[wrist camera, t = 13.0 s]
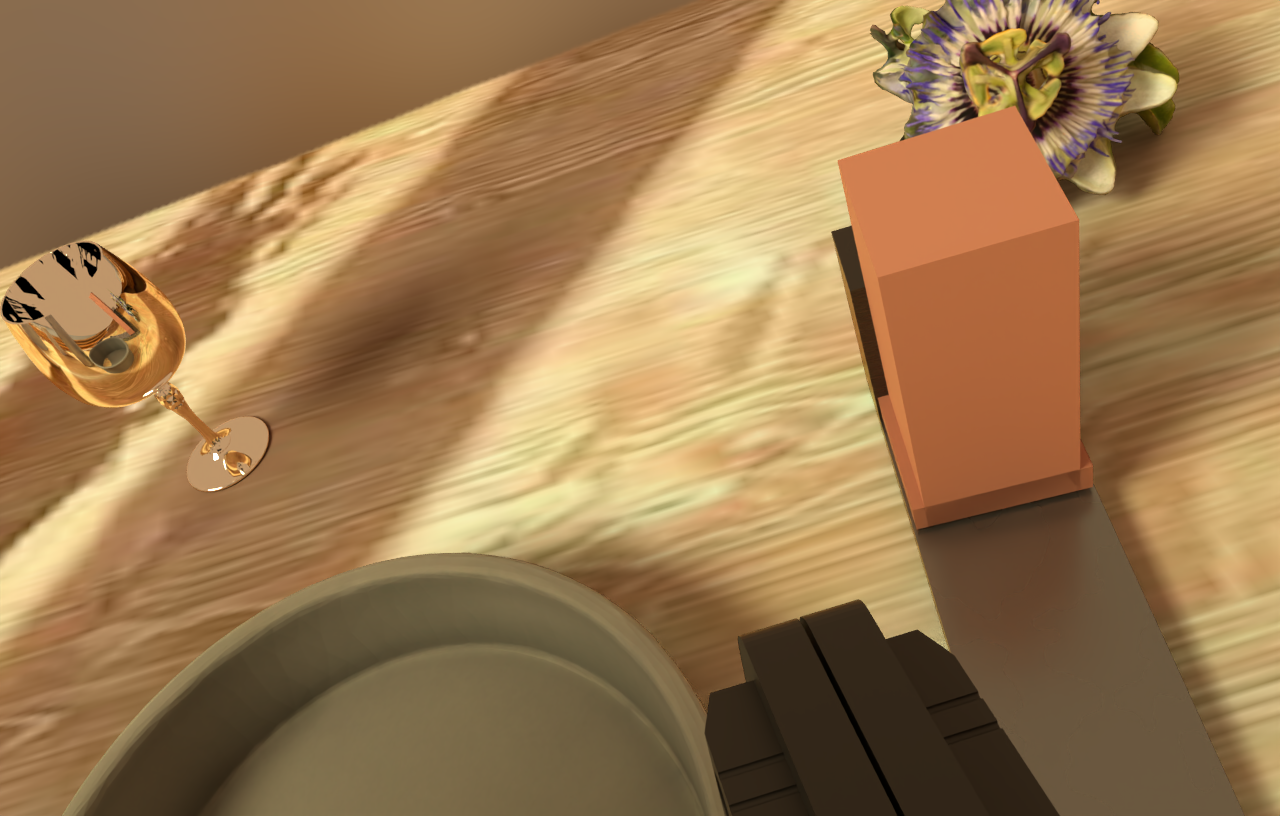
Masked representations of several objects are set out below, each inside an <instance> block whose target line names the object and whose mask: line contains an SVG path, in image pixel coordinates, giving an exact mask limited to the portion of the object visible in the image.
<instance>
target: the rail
mask: <svg viewBox="0 0 1280 816" xmlns="http://www.w3.org/2000/svg"><path fill="white" fill-rule="evenodd" d="M831 233H832V237H833V241H834V245H835V249H836V253H837V258H838V262H839V266H840V270H841V274H842V279H843V283H844V287H845V291H846V295H847V299H848V304H849V308H850V312H851V316H852V320H853V324H854V329H855V333H856V337H857V341H858V345H859V349H860V354H861V358H862V362H863V366H864V370H865V375H866V379H867V382H868V385H869V389H870V392H871V395H872V399H873V402H874V405H875V409H876V412H877V415H878V418H879V422H880V425H881V428H882V432H883V435H884V438H885V442H886V445H887V448H888V451H889V455H890V458H891V461H892V465H893V468H894V471H895V474H896V478H897V481H898V484H899V488H900V491H901V494H902V498H903V501H904V504H905V507H906V511H907V514H908V517H909V521H910V524H911V527H912V531H913V534H914V537H915V540H916V544H917V547H918V550H919V554H920V557H921V560H922V564H923V567H924V570H925V573H926V577H927V580H928V583H929V587H930V590H931V593H932V596H933V600H934V603H935V606H936V610H937V613H938V616H939V620H940V623H941V626H942V629H943V633H944V636H945V639H946V643H947V646H948V649H949V652H950V653H952V654H953V655H955V657H956V658H957V660H958V661H959V663H960V664H961V666H962V667H963V669H964V670H965V672H966V673H967V675H968V677H969V678H970V680H971V681H972V683H973V684H974V686H975V687H976V689H977V690H978V693H979V696H980V698H981V699H982V698H983V699H984V701H985V702H986V704H987V705H988V707H989V708H990V710H991V711H992V713H993V715H994V716H995V718H996V719H997V722H998V725H999V727H1000V728H1003V730H1004V731H1005V733H1006V734H1007V736H1008V737H1009V739H1010V740H1011V742H1012V743H1013V745H1014V746H1015V748H1016V750H1017V751H1018V753H1019V754H1020V756H1021V757H1022V759H1023V760H1024V762H1025V763H1026V765H1027V766H1028V768H1029V769H1030V771H1031V772H1032V774H1033V775H1034V777H1035V778H1036V780H1037V781H1038V783H1039V785H1040V786H1041V788H1042V789H1043V791H1044V792H1045V794H1046V795H1047V797H1048V798H1049V800H1050V801H1051V803H1052V804H1053V806H1054V807H1055V809H1056V810H1057V812H1058V813H1059V815H1060V816H1245V815H1244V813H1243V811H1242V809H1241V806H1240V804H1239V802H1238V800H1237V798H1236V796H1235V793H1234V791H1233V789H1232V787H1231V785H1230V782H1229V780H1228V778H1227V776H1226V774H1225V771H1224V769H1223V767H1222V765H1221V763H1220V760H1219V758H1218V756H1217V754H1216V752H1215V749H1214V747H1213V745H1212V743H1211V741H1210V738H1209V736H1208V734H1207V732H1206V730H1205V728H1204V725H1203V723H1202V721H1201V719H1200V717H1199V714H1198V712H1197V710H1196V708H1195V706H1194V703H1193V701H1192V699H1191V697H1190V695H1189V692H1188V690H1187V688H1186V686H1185V684H1184V681H1183V679H1182V677H1181V675H1180V673H1179V670H1178V668H1177V666H1176V664H1175V662H1174V660H1173V657H1172V655H1171V653H1170V651H1169V649H1168V646H1167V644H1166V642H1165V640H1164V638H1163V635H1162V633H1161V631H1160V629H1159V627H1158V624H1157V622H1156V620H1155V618H1154V616H1153V613H1152V611H1151V609H1150V607H1149V605H1148V602H1147V600H1146V598H1145V596H1144V594H1143V591H1142V589H1141V587H1140V585H1139V583H1138V581H1137V578H1136V576H1135V574H1134V572H1133V570H1132V567H1131V565H1130V563H1129V561H1128V559H1127V556H1126V554H1125V552H1124V550H1123V548H1122V545H1121V543H1120V541H1119V539H1118V537H1117V534H1116V532H1115V530H1114V528H1113V526H1112V523H1111V521H1110V519H1109V517H1108V515H1107V513H1106V510H1105V508H1104V506H1103V504H1102V502H1101V499H1100V497H1099V495H1098V493H1097V491H1096V488H1095V486H1094V484H1093V487H1091V488H1087V489H1083V490H1078V491H1074V492H1070V493H1066V494H1062V495H1058V496H1054V497H1049V498H1045V499H1041V500H1037V501H1033V502H1029V503H1025V504H1020V505H1016V506H1012V507H1008V508H1004V509H1000V510H996V511H991V512H987V513H983V514H979V515H975V516H971V517H967V518H962V519H958V520H954V521H950V522H946V523H942V524H938V525H933V526H929V527H925V528H921V529H916V525H915V522H914V519H913V516H912V512H911V509H910V506H909V503H908V499H907V496H906V493H905V490H904V486H903V483H902V480H901V476H900V473H899V470H898V467H897V463H896V460H895V457H894V454H893V450H892V447H891V444H890V441H889V437H888V434H887V431H886V428H885V424H884V421H883V418H882V413H881V409H880V405H879V401H878V398H879V397H882V396H886V395H889V393H888V389H887V384H886V380H885V375H884V370H883V366H882V361H881V357H880V352H879V348H878V343H877V338H876V334H875V329H874V325H873V320H872V316H871V311H870V306H869V302H868V297H867V293H866V288H865V284H864V279H863V274H862V270H861V265H860V261H859V256H858V252H857V247H856V243H855V238H854V233H853V229H852V226H849V227H846V228H842V229H839V230H836V231H832V232H831Z"/></svg>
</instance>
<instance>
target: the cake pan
mask: <svg viewBox="0 0 1280 816" xmlns="http://www.w3.org/2000/svg"><path fill="white" fill-rule="evenodd" d="M706 719H707V713H706V711H705V710H704V708H703V706H702V704H701V703H700V701H699V699H698V698H697V696H696V694H695V693H694V691H693V689H692V687H691V685H690V684H689V682H688V681H687V680H686V678H685V677H684V675H683V674H682V673H681V671H680V670H679V668H678V666H677V665H676V663H675V662H674V661H673V660H672V659H671V658H670V657H669V656H668V654H667V653H666V651H665V650H664V649H663V648H662V647H661V646H660V645H659V643H658V642H657V640H656V639H655V638H654V637H653V635H652V634H651V633H649V632H648V631H647V630H646V629H645V628H644V627H643V626H642V625H641V624H640V623H638V622H637V621H636V620H635V619H634V618H633V617H632V616H630V615H629V614H628V613H627V612H625V611H624V610H623V609H621V608H620V607H619V606H617V605H616V604H614V603H613V602H611V601H610V600H608V599H607V598H606V597H605V596H603V595H601V594H599V593H598V592H597V591H595V590H593V589H591V588H589V587H587V586H586V585H584V584H581V583H579V582H577V581H575V580H574V579H572V578H570V577H567V576H565V575H562V574H559V573H557V572H555V571H553V570H550V569H547V568H544V567H541V566H538V565H535V564H531V563H528V562H524V561H520V560H515V559H510V558H505V557H499V556H492V555H482V554H472V553H441V554H424V555H416V556H408V557H401V558H396V559H391V560H387V561H382V562H378V563H373V564H370V565H366V566H363V567H360V568H356V569H353V570H350V571H347V572H344V573H341V574H338V575H335V576H333V577H330V578H328V579H325V580H323V581H321V582H318V583H316V584H313V585H311V586H308V587H306V588H304V589H302V590H300V591H298V592H296V593H294V594H292V595H290V596H288V597H286V598H285V599H283V600H281V601H279V602H277V603H275V604H274V605H272V606H270V607H268V608H266V609H265V610H263V611H261V612H260V613H258V614H257V615H255V616H254V617H252V618H251V619H249V620H248V621H246V622H244V623H243V624H241V625H240V626H238V627H237V628H235V629H234V630H233V631H231V632H230V633H228V634H227V635H226V636H224V637H223V638H222V639H220V640H219V641H218V642H216V643H215V644H213V645H212V646H211V647H209V648H208V649H207V650H206V651H205V652H203V653H202V654H201V655H200V656H199V657H197V658H196V659H195V660H194V661H192V662H191V663H190V664H189V665H188V666H187V667H186V668H185V669H183V670H182V671H181V672H180V673H179V674H178V675H177V676H175V677H174V678H173V679H172V680H171V681H170V682H169V683H168V684H167V685H166V686H165V687H164V688H163V689H162V690H161V691H160V692H159V693H158V694H157V695H156V696H155V697H154V698H153V699H152V700H151V701H150V702H149V703H148V704H147V705H146V706H145V707H144V708H143V709H142V710H141V712H140V713H139V714H138V715H137V716H136V717H135V718H134V719H133V720H132V721H131V723H130V724H129V725H128V726H127V727H126V728H125V730H124V731H123V732H122V733H121V734H120V736H119V737H118V738H117V739H116V740H115V742H114V743H113V744H112V745H111V746H110V748H109V749H108V750H107V752H106V753H105V754H104V755H103V757H102V758H101V759H100V761H99V762H98V763H97V765H96V766H95V767H94V769H93V770H92V771H91V773H90V774H89V776H88V777H87V778H86V780H85V781H84V783H83V784H82V786H81V787H80V788H79V790H78V791H77V793H76V795H75V796H74V798H73V799H72V801H71V802H70V804H69V805H68V807H67V808H66V810H65V812H64V813H63V815H62V816H725V815H724V811H723V807H722V803H721V799H720V795H719V791H718V787H717V783H716V778H715V774H714V770H713V766H712V762H711V758H710V754H709V750H708V746H707V742H706V738H705V734H704V732H705V725H706Z"/></svg>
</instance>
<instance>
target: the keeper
mask: <svg viewBox="0 0 1280 816" xmlns="http://www.w3.org/2000/svg"><path fill="white" fill-rule="evenodd" d="M838 165H839V169H840V174H841V179H842V183H843V188H844V192H845V197H846V201H847V206H848V211H849V215H850V220H851V224H852V229H853V233H854V238H855V243H856V247H857V252H858V256H859V261H860V265H861V270H862V274H863V279H864V284H865V288H866V293H867V297H868V302H869V306H870V311H871V316H872V320H873V325H874V329H875V334H876V338H877V343H878V348H879V352H880V357H881V361H882V366H883V370H884V375H885V380H886V384H887V389H888V393H889V395H886V396H882V397H879V398H878V401H879V405H880V409H881V413H882V418H883V421H884V424H885V428H886V431H887V434H888V437H889V441H890V444H891V447H892V450H893V454H894V457H895V460H896V463H897V467H898V470H899V473H900V476H901V480H902V483H903V486H904V490H905V493H906V496H907V499H908V503H909V506H910V509H911V512H912V516H913V519H914V522H915V525H916V529H921V528H925V527H929V526H933V525H938V524H942V523H946V522H950V521H954V520H958V519H962V518H967V517H971V516H975V515H979V514H983V513H987V512H991V511H996V510H1000V509H1004V508H1008V507H1012V506H1016V505H1020V504H1025V503H1029V502H1033V501H1037V500H1041V499H1045V498H1049V497H1054V496H1058V495H1062V494H1066V493H1070V492H1074V491H1078V490H1083V489H1087V488H1091V487H1093V465H1092V462H1091V460H1090V458H1089V456H1088V454H1087V452H1086V450H1085V447H1084V445H1083V443H1082V441H1081V439H1080V304H1079V219H1078V217H1077V215H1076V213H1075V212H1074V210H1073V208H1072V206H1071V205H1070V203H1069V201H1068V199H1067V197H1066V196H1065V194H1064V192H1063V190H1062V188H1061V187H1060V185H1059V183H1058V181H1057V180H1056V178H1055V176H1054V174H1053V172H1052V171H1051V169H1050V167H1049V165H1048V164H1047V162H1046V160H1045V158H1044V156H1043V155H1042V153H1041V151H1040V149H1039V147H1038V146H1037V144H1036V142H1035V140H1034V139H1033V137H1032V135H1031V133H1030V131H1029V130H1028V128H1027V126H1026V124H1025V122H1024V121H1023V119H1022V117H1021V115H1020V114H1019V112H1018V110H1017V108H1016V106H1012V107H1009V108H1006V109H1003V110H999V111H996V112H993V113H990V114H986V115H983V116H980V117H977V118H973V119H970V120H967V121H964V122H961V123H957V124H954V125H951V126H948V127H944V128H941V129H938V130H935V131H931V132H928V133H925V134H922V135H919V136H915V137H912V138H909V139H906V140H902V141H899V142H896V143H893V144H889V145H886V146H883V147H880V148H876V149H873V150H870V151H867V152H864V153H860V154H857V155H854V156H851V157H847V158H844V159H841V160H838Z"/></svg>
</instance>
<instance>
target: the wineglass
mask: <svg viewBox="0 0 1280 816" xmlns="http://www.w3.org/2000/svg"><path fill="white" fill-rule="evenodd" d="M0 313H1V316H2V318H3V320H4V321H5V323H6V325H7V326H8V328H9V330H10V331H11V333H12V335H13V336H14V338H15V339H16V340H17V342H18V343H19V344H20V346H21V347H22V349H23V350H24V351H25V353H26V354H27V355H28V357H29V358H30V360H31V361H32V362H33V363H34V364H35V366H36V367H37V368H38V369H39V370H40V371H41V372H42V373H43V375H44V376H45V377H46V378H47V379H49V380H50V381H51V382H52V383H53V384H54V385H55V386H56V387H57V388H59V389H60V390H62V391H63V392H65V393H66V394H68V395H70V396H71V397H73V398H75V399H76V400H78V401H80V402H82V403H84V404H87V405H91V406H97V407H103V408H118V407H124V406H128V405H132V404H135V403H137V402H140V401H142V400H144V399H146V398H148V397H150V396H151V395H153V394H154V396H155V398H156V399H157V400H158V401H159V403H160V404H161V405H163V406H164V407H166V408H167V409H169V410H172V411H174V412H175V413H177V414H178V415H180V416H182V417H183V418H185V419H186V420H187V421H188V422H189V423H190V424H191V425H192V426H193V427H194V428H195V429H196V430H197V431H198V432H199V433H200V434H201V435H202V436H203V437H204V438H203V439H202V440H201V441H200V442H199V443H198V445H197V446H196V447H195V449H194V450H193V452H192V454H191V456H190V458H189V461H188V464H187V470H186V474H187V479H188V481H189V483H190V485H191V486H192V487H193V488H195V489H196V490H198V491H203V492H214V491H219V490H223V489H225V488H228V487H230V486H232V485H234V484H236V483H237V482H239V481H240V480H242V479H243V478H244V477H246V476H247V475H248V474H249V473H250V472H251V471H252V470H253V469H254V468H255V467H256V466H257V465H258V463H259V462H260V460H261V459H262V457H263V456H264V454H265V452H266V450H267V447H268V443H269V430H268V427H267V425H266V424H265V423H264V422H263V421H262V420H260V419H258V418H256V417H251V416H243V417H237V418H234V419H231V420H228V421H226V422H224V423H222V424H220V425H219V426H217V427H216V428H214V429H213V430H211V429H210V428H209V427H208V426H207V425H206V424H205V423H204V422H202V421H201V420H200V419H199V418H198V417H197V416H196V415H195V414H194V412H193V411H192V410H191V409H190V407H189V406H188V404H187V403H186V401H185V400H184V397H183V395H182V394H181V393H180V391H179V389H178V388H177V387H176V386H174V385H173V384H171V383H169V382H168V381H169V380H170V379H171V378H172V376H173V375H174V374H175V372H176V371H177V369H178V367H179V365H180V363H181V361H182V359H183V356H184V352H185V346H186V336H185V330H184V325H183V322H182V320H181V318H180V315H179V313H178V312H177V310H176V309H175V307H174V306H173V304H172V303H171V302H170V300H169V299H168V298H167V297H166V295H165V294H164V293H163V292H162V291H161V290H160V289H159V288H158V287H156V286H155V285H154V284H153V283H152V282H151V281H150V280H149V279H148V278H146V277H145V276H144V275H143V274H142V273H140V272H139V271H138V270H136V269H135V268H134V267H132V266H131V265H130V264H128V263H127V262H125V261H123V260H122V259H120V258H119V257H117V256H116V255H114V254H113V253H111V252H110V251H108V250H106V249H105V248H103V247H102V246H100V245H99V244H97V243H94V242H92V241H78V242H74V243H70V244H67V245H64V246H61V247H59V248H57V249H55V250H53V251H51V252H49V253H48V254H46V255H44V256H43V257H41V258H40V259H38V260H37V261H36V262H34V263H33V264H32V265H30V266H29V267H28V268H27V269H26V270H25V271H23V272H22V273H21V275H20V276H19V277H18V278H17V279H16V280H15V281H14V282H13V283H12V285H11V286H10V287H9V289H8V290H7V292H6V294H5V296H4V298H3V300H2V303H1V307H0Z"/></svg>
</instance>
